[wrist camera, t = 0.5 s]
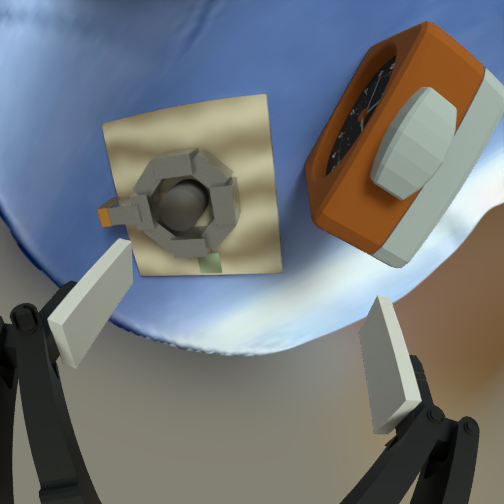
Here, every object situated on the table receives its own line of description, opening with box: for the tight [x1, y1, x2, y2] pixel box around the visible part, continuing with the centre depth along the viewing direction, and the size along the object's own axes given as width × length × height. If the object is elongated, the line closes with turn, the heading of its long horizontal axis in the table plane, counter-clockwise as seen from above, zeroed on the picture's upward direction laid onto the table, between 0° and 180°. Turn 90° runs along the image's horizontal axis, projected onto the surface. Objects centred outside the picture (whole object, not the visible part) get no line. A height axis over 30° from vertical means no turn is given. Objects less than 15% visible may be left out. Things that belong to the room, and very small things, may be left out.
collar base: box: [102, 94, 282, 276], centre depth 39 cm, size 24×22×6 cm
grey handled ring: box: [97, 147, 241, 258], centre depth 38 cm, size 18×13×4 cm
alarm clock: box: [305, 21, 504, 268], centre depth 25 cm, size 18×9×21 cm, turn 155°
